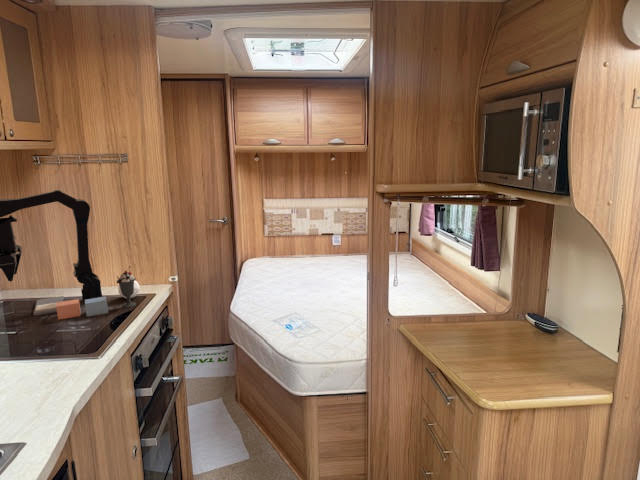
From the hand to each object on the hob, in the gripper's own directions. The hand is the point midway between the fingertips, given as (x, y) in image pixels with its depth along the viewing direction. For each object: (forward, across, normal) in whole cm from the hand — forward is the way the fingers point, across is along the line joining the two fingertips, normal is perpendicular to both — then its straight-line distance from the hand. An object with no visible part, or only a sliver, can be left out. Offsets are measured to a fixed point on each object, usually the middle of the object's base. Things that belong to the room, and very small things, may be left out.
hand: (12, 277), depth 160 cm
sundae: (+15, +11, +36) cm, 41 cm away
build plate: (+14, -2, +9) cm, 17 cm away
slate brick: (+14, +13, +26) cm, 32 cm away
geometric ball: (+15, +2, +37) cm, 40 cm away
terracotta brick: (+14, +12, +16) cm, 25 cm away
